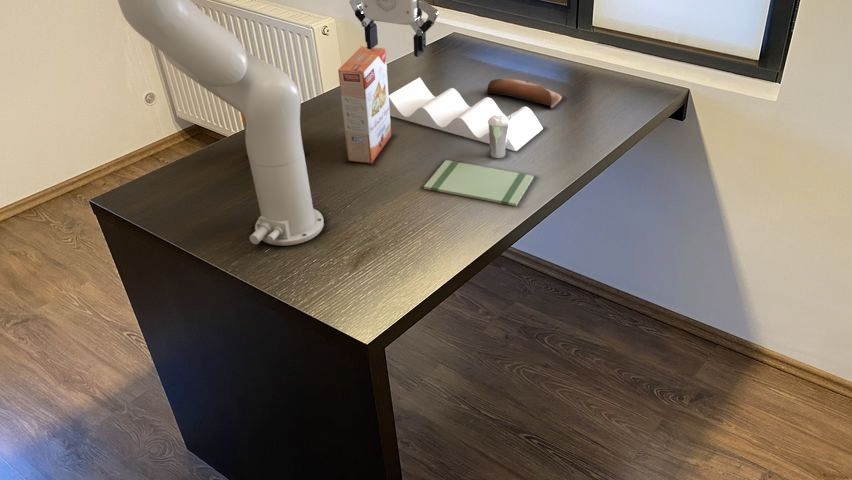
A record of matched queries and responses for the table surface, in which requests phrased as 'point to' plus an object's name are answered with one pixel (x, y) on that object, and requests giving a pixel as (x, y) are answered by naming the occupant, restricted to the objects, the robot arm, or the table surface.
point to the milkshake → (498, 135)
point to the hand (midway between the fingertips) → (395, 50)
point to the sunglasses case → (524, 91)
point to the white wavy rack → (460, 114)
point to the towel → (479, 182)
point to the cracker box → (365, 103)
